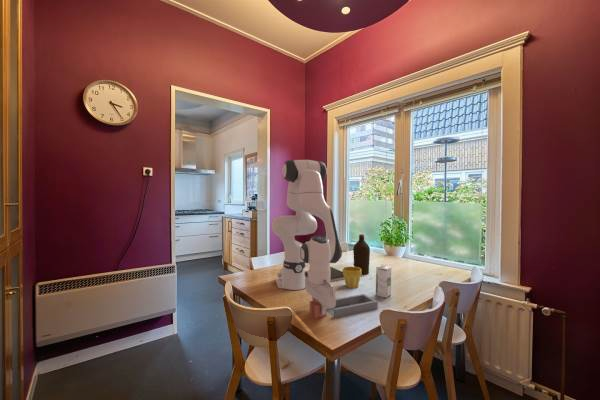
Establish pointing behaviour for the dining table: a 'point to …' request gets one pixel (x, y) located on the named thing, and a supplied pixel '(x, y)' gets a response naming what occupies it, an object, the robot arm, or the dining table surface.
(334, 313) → the channel
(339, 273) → the hardcover book
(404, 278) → the dining table surface
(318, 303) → the red block
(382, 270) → the syrup box
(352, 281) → the plant pot
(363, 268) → the olive oil
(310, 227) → the robot arm
